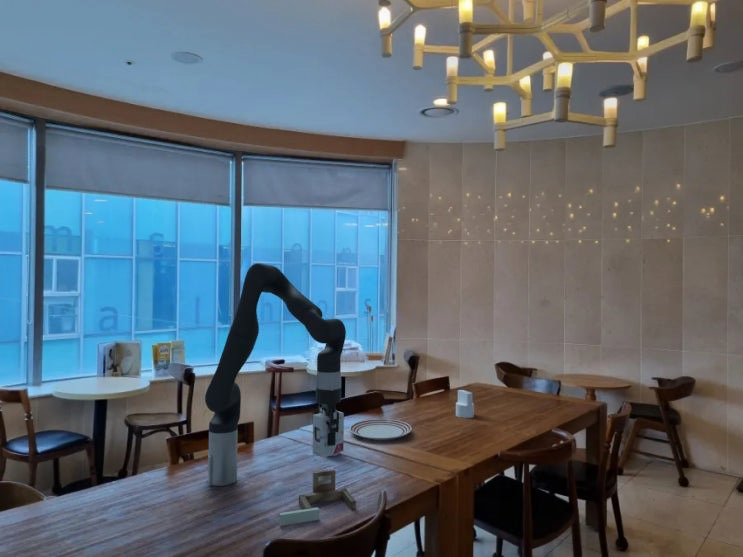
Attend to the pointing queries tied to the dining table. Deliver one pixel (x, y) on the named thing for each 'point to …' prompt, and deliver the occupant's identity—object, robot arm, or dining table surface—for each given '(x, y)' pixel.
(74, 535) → the dining table surface
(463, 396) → the base with upright slab
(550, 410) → the dining table surface
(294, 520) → the pale green bar
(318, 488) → the rack bay
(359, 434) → the dinner plate
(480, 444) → the dining table surface
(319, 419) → the ink box
